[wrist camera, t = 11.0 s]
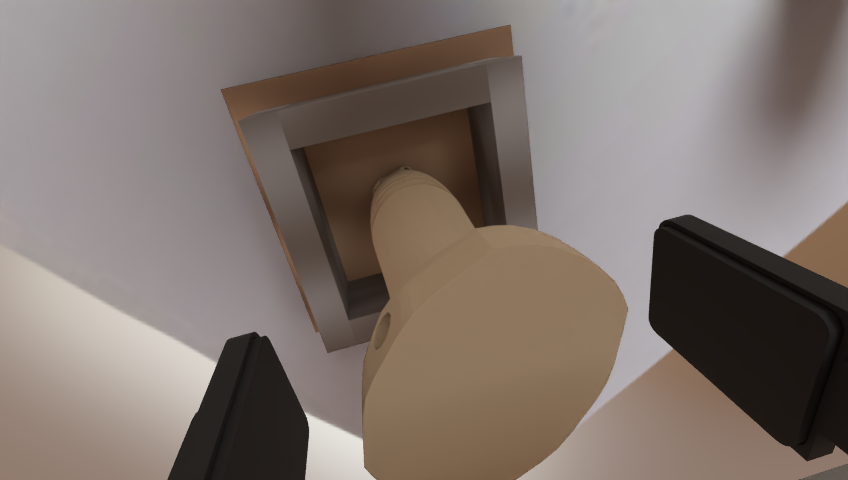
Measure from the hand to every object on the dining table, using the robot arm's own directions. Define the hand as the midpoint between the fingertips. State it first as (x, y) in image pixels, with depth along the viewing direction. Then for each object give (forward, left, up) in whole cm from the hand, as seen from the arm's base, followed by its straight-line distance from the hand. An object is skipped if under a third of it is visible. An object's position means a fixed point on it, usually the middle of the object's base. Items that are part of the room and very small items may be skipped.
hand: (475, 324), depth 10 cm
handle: (+1, 0, -14) cm, 14 cm away
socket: (+1, 0, -15) cm, 15 cm away
